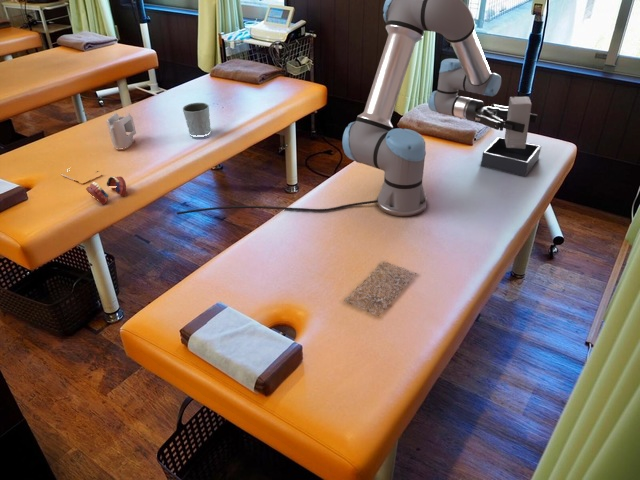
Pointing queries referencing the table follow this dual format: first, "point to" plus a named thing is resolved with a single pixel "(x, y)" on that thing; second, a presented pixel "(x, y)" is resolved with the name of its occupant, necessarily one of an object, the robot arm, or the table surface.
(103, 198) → the teeth model
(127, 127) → the cable organizer
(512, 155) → the box
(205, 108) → the drinking glass
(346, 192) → the table surface
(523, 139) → the cosmetic box
